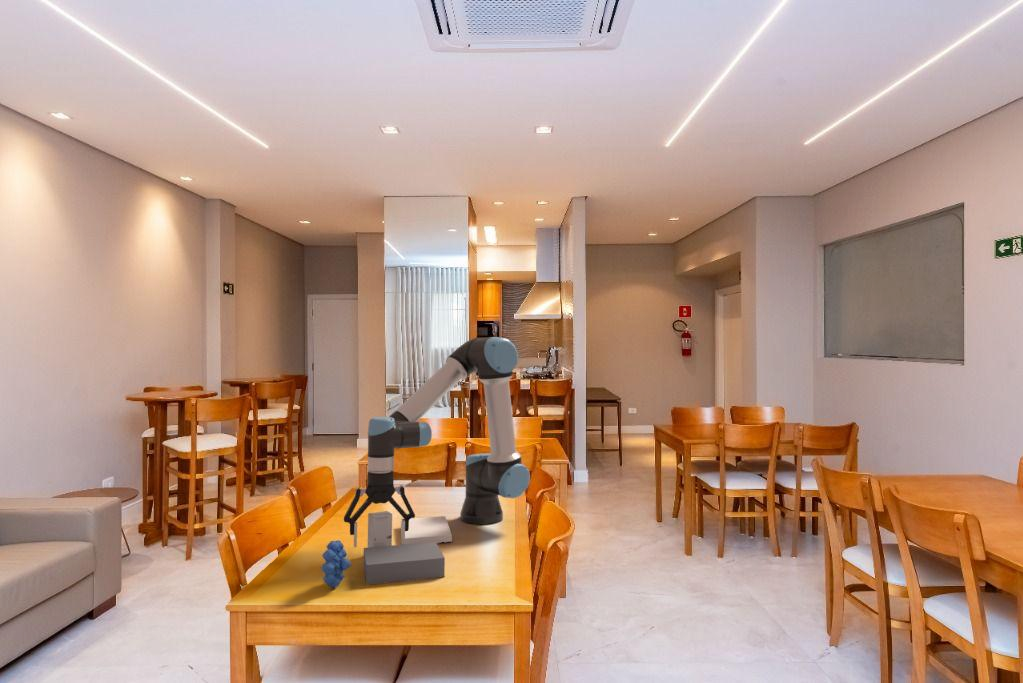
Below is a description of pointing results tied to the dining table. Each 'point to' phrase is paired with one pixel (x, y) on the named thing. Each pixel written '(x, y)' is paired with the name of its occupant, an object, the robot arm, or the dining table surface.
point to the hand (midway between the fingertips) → (379, 544)
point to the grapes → (334, 563)
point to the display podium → (403, 562)
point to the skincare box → (379, 529)
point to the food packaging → (428, 530)
